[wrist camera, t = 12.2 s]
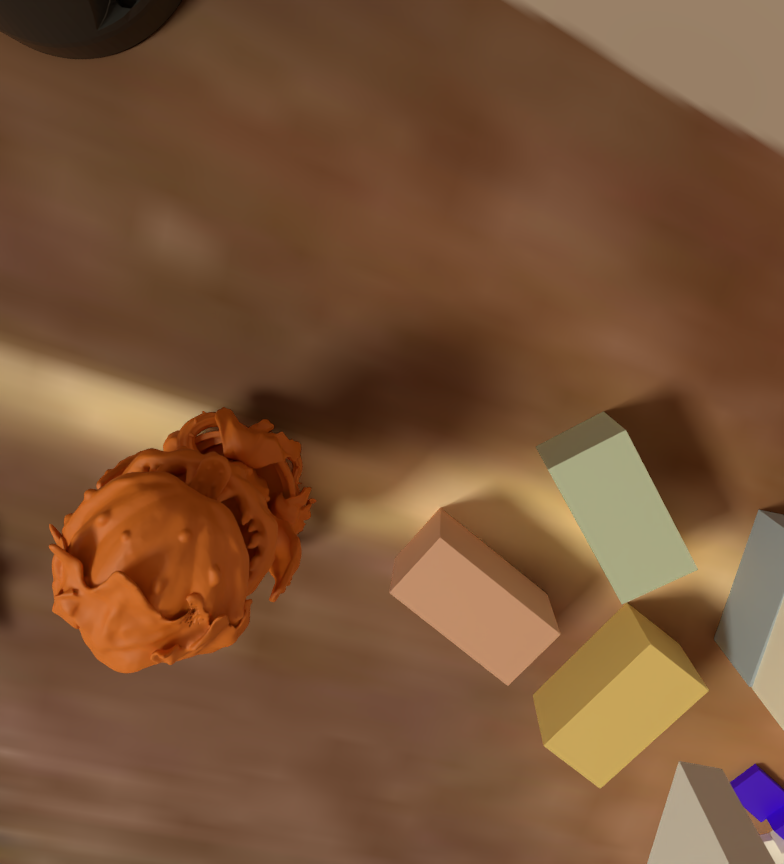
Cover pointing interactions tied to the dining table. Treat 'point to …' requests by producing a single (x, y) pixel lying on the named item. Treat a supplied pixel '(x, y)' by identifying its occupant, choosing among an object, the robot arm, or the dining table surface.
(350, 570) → the dining table surface
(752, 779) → the building block set
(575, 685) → the ochre brick
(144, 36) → the robot arm
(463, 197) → the dining table surface
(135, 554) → the orange lumpy upright piece
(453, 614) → the terracotta brick
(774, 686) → the cream brick
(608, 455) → the sage brick
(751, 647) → the slate brick
